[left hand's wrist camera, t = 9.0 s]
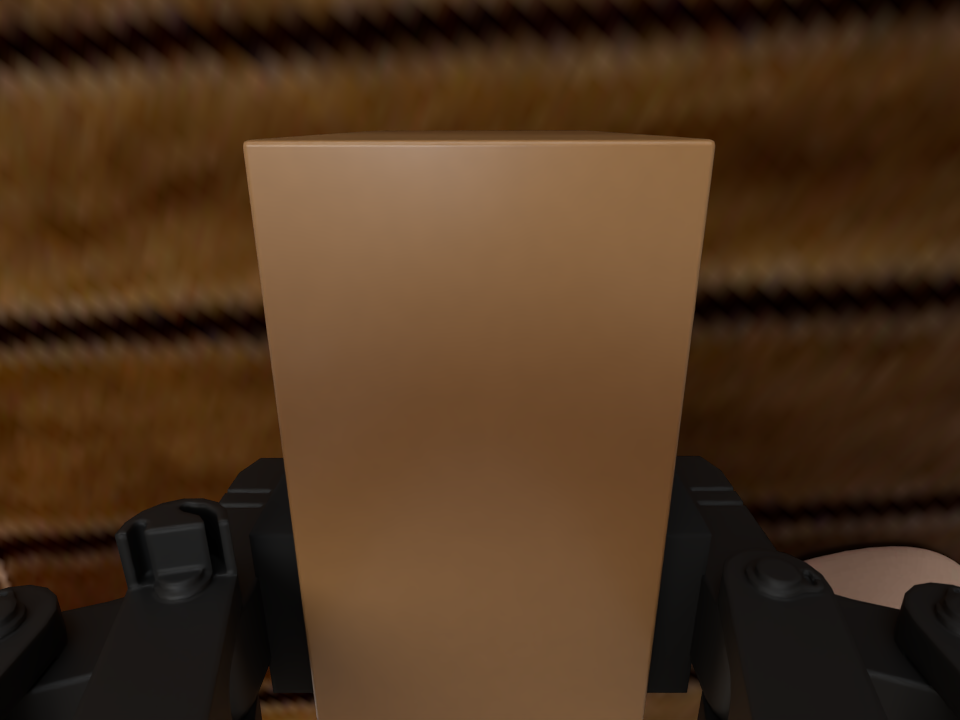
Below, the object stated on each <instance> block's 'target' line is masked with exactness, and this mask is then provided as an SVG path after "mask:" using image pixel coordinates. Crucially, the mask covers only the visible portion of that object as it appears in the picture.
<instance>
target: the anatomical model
mask: <svg viewBox="0 0 960 720" xmlns="http://www.w3.org/2000/svg"><path fill="white" fill-rule="evenodd" d="M804 562H806V563H808V564H809V565H810V566H812V567H813V568H814V569H816V570H817V571H818V572H820V573H821V574H822V575H823V576H824V578H825V579H826V580H827V582H828V583H829V585H830V586H831V587H832V589H833V592H834V594H836V595H840V596H843V597H847V598H850V599H854V600H859V601H863V602H868V603H873V604H877V605H882V606H887V607H891V608H896V609H900V608H901V605H902V601H903V598H904V595H905V593H906V592H907V591H908V590H909V589H910V588H911V587H913V586H914V585H918V584H924V583H929V582H933V583H942V584H951V585H956V586H959V587H960V565H959V564H958V563H956V562H955V561H953V560H951V559H950V558H948V557H946V556H944V555H941V554H939V553H937V552H934V551H930V550H927V549H921V548H914V547H905V546H887V547H871V548H863V549H856V550H850V551H843V552H839V553H834V554H830V555H825V556H821V557H816V558H812V559H809V560H805V561H804Z"/></svg>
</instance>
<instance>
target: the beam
mask: <svg viewBox="0 0 960 720" xmlns="http://www.w3.org/2000/svg"><path fill="white" fill-rule="evenodd" d="M243 150H244V157H245V165H246V173H247V181H248V188H249V196H250V204H251V212H252V219H253V227H254V235H255V242H256V250H257V258H258V266H259V273H260V281H261V289H262V297H263V304H264V312H265V320H266V328H267V335H268V343H269V351H270V359H271V366H272V374H273V382H274V389H275V397H276V405H277V413H278V420H279V428H280V436H281V444H282V451H283V459H284V467H285V475H286V482H287V490H288V498H289V506H290V513H291V521H292V529H293V536H294V544H295V552H296V560H297V567H298V575H299V583H300V591H301V598H302V606H303V614H304V622H305V629H306V637H307V645H308V652H309V660H310V668H311V676H312V683H313V691H314V699H315V707H316V714H317V720H643V718H644V710H645V702H646V694H647V686H648V678H649V670H650V662H651V654H652V646H653V638H654V630H655V622H656V614H657V607H658V599H659V591H660V583H661V575H662V567H663V559H664V551H665V543H666V535H667V527H668V519H669V511H670V503H671V495H672V487H673V479H674V471H675V463H676V455H677V447H678V439H679V431H680V423H681V415H682V407H683V399H684V391H685V383H686V375H687V367H688V359H689V351H690V344H691V336H692V328H693V320H694V312H695V304H696V296H697V288H698V280H699V272H700V264H701V256H702V248H703V240H704V232H705V224H706V216H707V208H708V200H709V192H710V184H711V176H712V168H713V160H714V152H715V143H714V141H712V140H710V139H698V138H684V137H670V136H656V135H641V134H627V133H613V132H599V131H366V132H352V133H339V134H325V135H311V136H297V137H284V138H270V139H256V140H248V141H246V142H244V145H243Z"/></svg>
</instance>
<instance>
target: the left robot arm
mask: <svg viewBox="0 0 960 720" xmlns="http://www.w3.org/2000/svg"><path fill="white" fill-rule="evenodd" d="M115 538H116V542H117V546H118V550H119V554H120V558H121V562H122V566H123V570H124V574H125V578H126V582H127V586H128V590H127V593H126V595H125V597H123V598H120V599H116V600H113V601H109V602H105V603H100V604H96V605H91V606H86V607H82V608H77V609H73V610H68V611H63V612H61V609H60V606H59V603H58V599H57V596H56V595H55V594H54V593H53V592H51V591H50V590H49V589H48V588H45V587H40V586H34V585H25V586H16V587H8V588H5V589H1V590H0V720H262V716H261V708H260V702H259V696H258V692H259V689H260V687H261V684H262V682H263V679H264V677H265V674H266V672H267V669H268V666H269V667H270V673H271V679H272V686H273V692H274V693H314V691H313V683H312V676H311V668H310V660H309V652H308V645H307V637H306V629H305V622H304V614H303V606H302V598H301V591H300V583H299V575H298V567H297V560H296V552H295V544H294V536H293V529H292V521H291V513H290V506H289V498H288V490H287V482H286V475H285V467H284V459H283V458H260V459H259V460H257V461H256V462H254V463H253V464H252V465H250V466H249V467H247V468H246V469H244V470H243V471H241V472H240V473H239V474H238V476H237V477H236V479H235V480H234V481H233V483H232V484H231V486H230V487H229V489H228V493H225V495H224V496H223V497H222V499H221V500H220V502H219V503H218V502H215V501H211V500H207V499H203V498H201V499H180V500H175V501H171V502H166V503H162V504H159V505H157V506H154V507H152V508H149V509H147V510H144V511H142V512H140V513H139V514H137V515H136V516H134V517H133V518H131V519H130V520H128V521H127V522H125V523H124V525H123V526H122V527H121V528H120V529H119V531H118V532H117V533H116V534H115ZM691 663H692V665H693V667H694V670H695V672H696V675H697V677H698V680H699V682H700V685H701V688H702V696H701V702H700V708H699V714H698V720H960V587H959V586H956V585H951V584H942V583H933V582H929V583H924V584H918V585H914V586H913V587H911V588H910V589H909V590H908V591H907V592H906V593H905V595H904V598H903V601H902V605H901V608H900V609H896V608H891V607H887V606H882V605H877V604H873V603H868V602H863V601H859V600H854V599H850V598H847V597H843V596H840V595H836V594H834V592H833V589H832V587H831V586H830V585H829V583H828V582H827V580H826V579H825V578H824V576H823V575H822V574H821V573H820V572H818V571H817V570H816V569H814V568H813V567H812V566H810V565H809V564H808V563H806V562H804V561H802V560H800V559H798V558H796V557H793V556H791V555H789V554H787V553H783V552H778V551H777V550H776V549H775V547H774V546H773V544H772V543H771V542H770V540H769V539H768V537H767V536H766V534H765V533H764V531H763V530H762V529H761V527H760V526H759V524H758V523H757V521H756V520H755V519H754V517H753V516H752V514H751V513H750V511H749V510H748V508H747V507H746V506H743V501H742V500H741V498H740V497H739V495H738V494H737V493H736V491H733V487H732V485H731V484H730V483H729V481H728V480H727V478H726V477H725V475H724V474H723V472H722V471H721V470H720V469H718V468H717V467H715V466H714V465H712V464H711V463H709V462H708V461H706V460H705V459H703V458H702V457H701V456H676V463H675V471H674V479H673V487H672V495H671V503H670V511H669V519H668V527H667V535H666V543H665V551H664V559H663V567H662V575H661V583H660V591H659V599H658V607H657V614H656V622H655V630H654V638H653V646H652V654H651V662H650V670H649V678H648V686H647V693H687V689H688V682H689V676H690V670H691Z"/></svg>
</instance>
